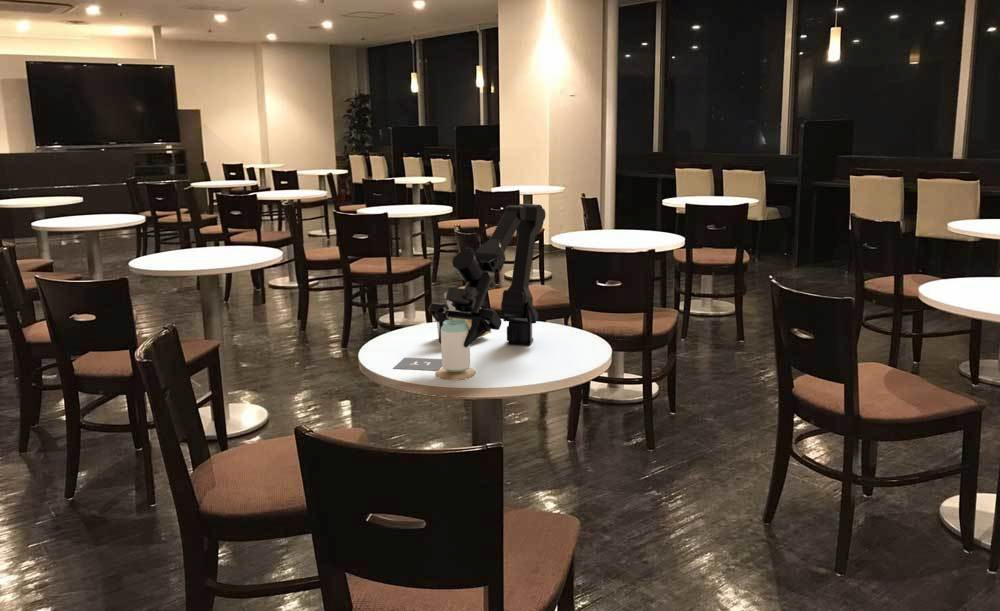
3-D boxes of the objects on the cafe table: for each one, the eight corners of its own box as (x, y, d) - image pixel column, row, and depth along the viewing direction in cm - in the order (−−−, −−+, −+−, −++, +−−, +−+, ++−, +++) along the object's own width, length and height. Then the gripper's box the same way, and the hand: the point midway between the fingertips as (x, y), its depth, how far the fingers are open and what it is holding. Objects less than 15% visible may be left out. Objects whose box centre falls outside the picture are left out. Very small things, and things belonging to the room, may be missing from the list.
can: (474, 370, 202) (472, 323, 199) (446, 374, 199) (445, 326, 197) (465, 363, 208) (464, 317, 206) (438, 366, 206) (437, 320, 203)
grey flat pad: (448, 359, 216) (448, 359, 216) (438, 370, 207) (438, 369, 207) (404, 357, 219) (404, 357, 219) (392, 368, 209) (392, 367, 209)
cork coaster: (479, 368, 208) (479, 367, 208) (470, 380, 198) (470, 379, 198) (441, 367, 210) (441, 365, 210) (430, 378, 200) (430, 377, 200)
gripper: (430, 271, 207) (406, 323, 200) (494, 277, 197) (471, 332, 191) (449, 295, 215) (426, 346, 208) (511, 302, 206) (489, 355, 199)
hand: (452, 344), depth 201 cm, fingers closed on can, 7 cm apart
